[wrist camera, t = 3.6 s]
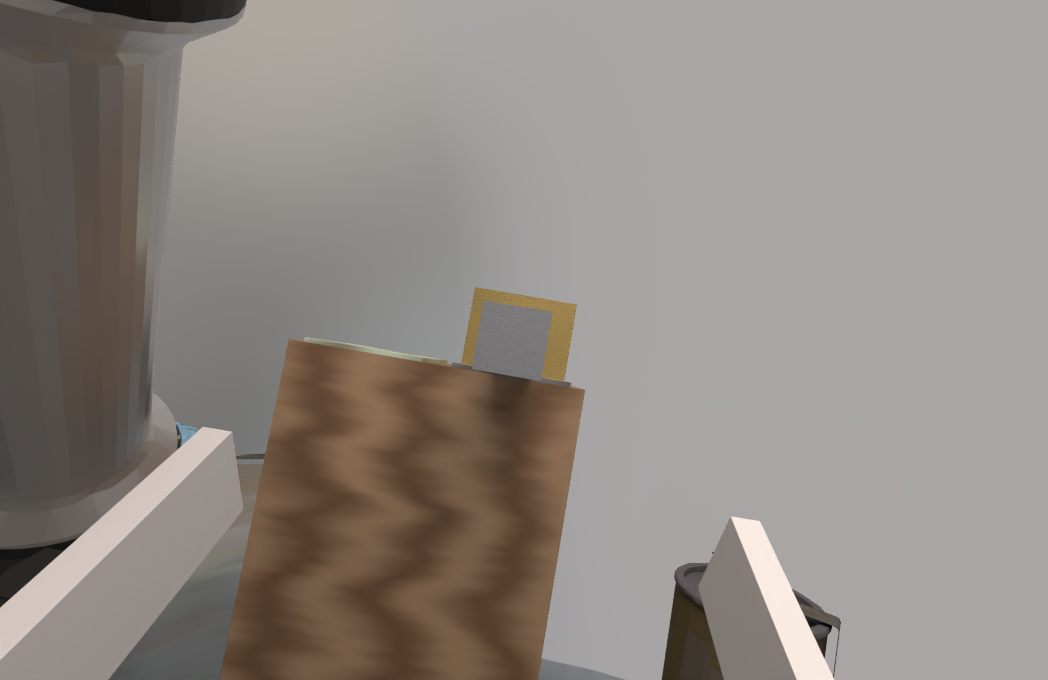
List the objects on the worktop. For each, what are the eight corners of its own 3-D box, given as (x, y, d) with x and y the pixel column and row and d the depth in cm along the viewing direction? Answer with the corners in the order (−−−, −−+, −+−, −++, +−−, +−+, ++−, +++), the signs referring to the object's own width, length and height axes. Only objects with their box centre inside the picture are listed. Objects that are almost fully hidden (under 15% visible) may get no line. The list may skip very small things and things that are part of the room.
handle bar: (407, 357, 19) (434, 212, 20) (469, 364, 43) (481, 298, 44) (605, 392, 19) (628, 245, 20) (557, 379, 43) (568, 313, 44)
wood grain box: (193, 809, 30) (289, 334, 32) (282, 689, 42) (349, 343, 44) (507, 863, 30) (585, 385, 32) (510, 729, 42) (568, 381, 44)
